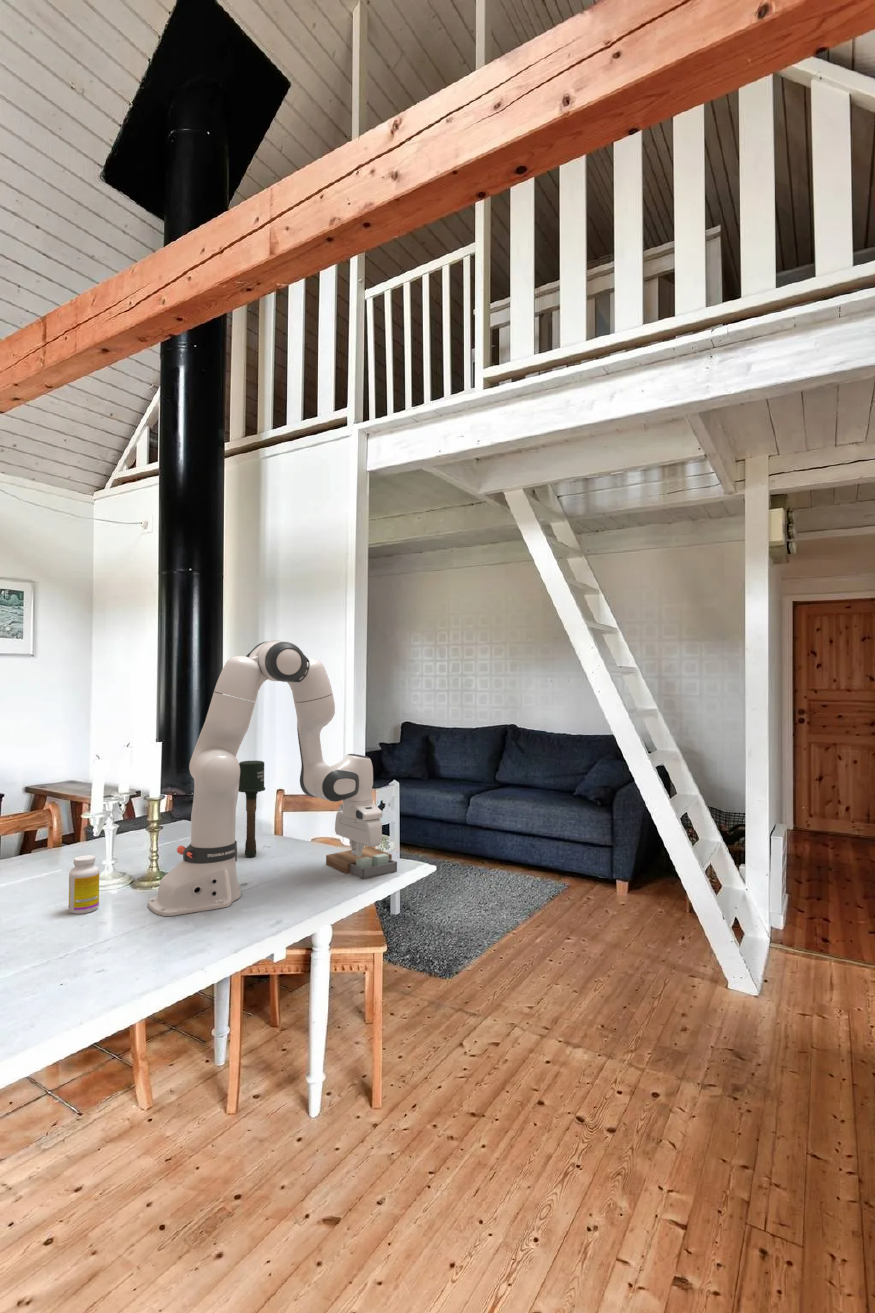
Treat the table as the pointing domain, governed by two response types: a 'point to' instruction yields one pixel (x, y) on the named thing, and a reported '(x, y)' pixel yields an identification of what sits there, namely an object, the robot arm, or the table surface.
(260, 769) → the potato masher grenade
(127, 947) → the table surface
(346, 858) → the board
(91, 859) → the supplement bottle
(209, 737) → the robot arm
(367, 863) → the tile
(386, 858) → the tile
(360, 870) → the tray
